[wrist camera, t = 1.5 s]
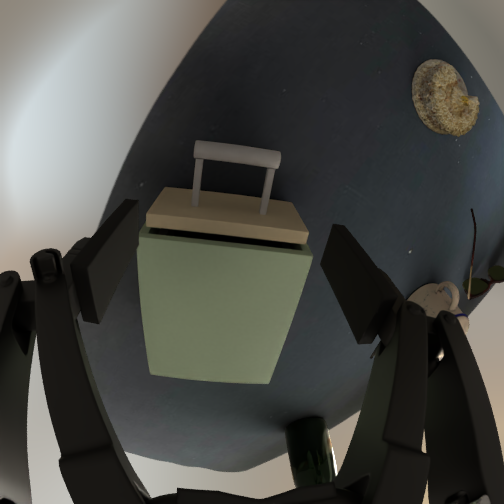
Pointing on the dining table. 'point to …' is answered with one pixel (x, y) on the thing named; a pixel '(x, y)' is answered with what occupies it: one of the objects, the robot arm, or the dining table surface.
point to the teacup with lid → (440, 302)
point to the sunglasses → (480, 286)
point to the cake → (443, 99)
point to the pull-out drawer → (228, 205)
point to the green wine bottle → (310, 452)
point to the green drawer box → (217, 305)
